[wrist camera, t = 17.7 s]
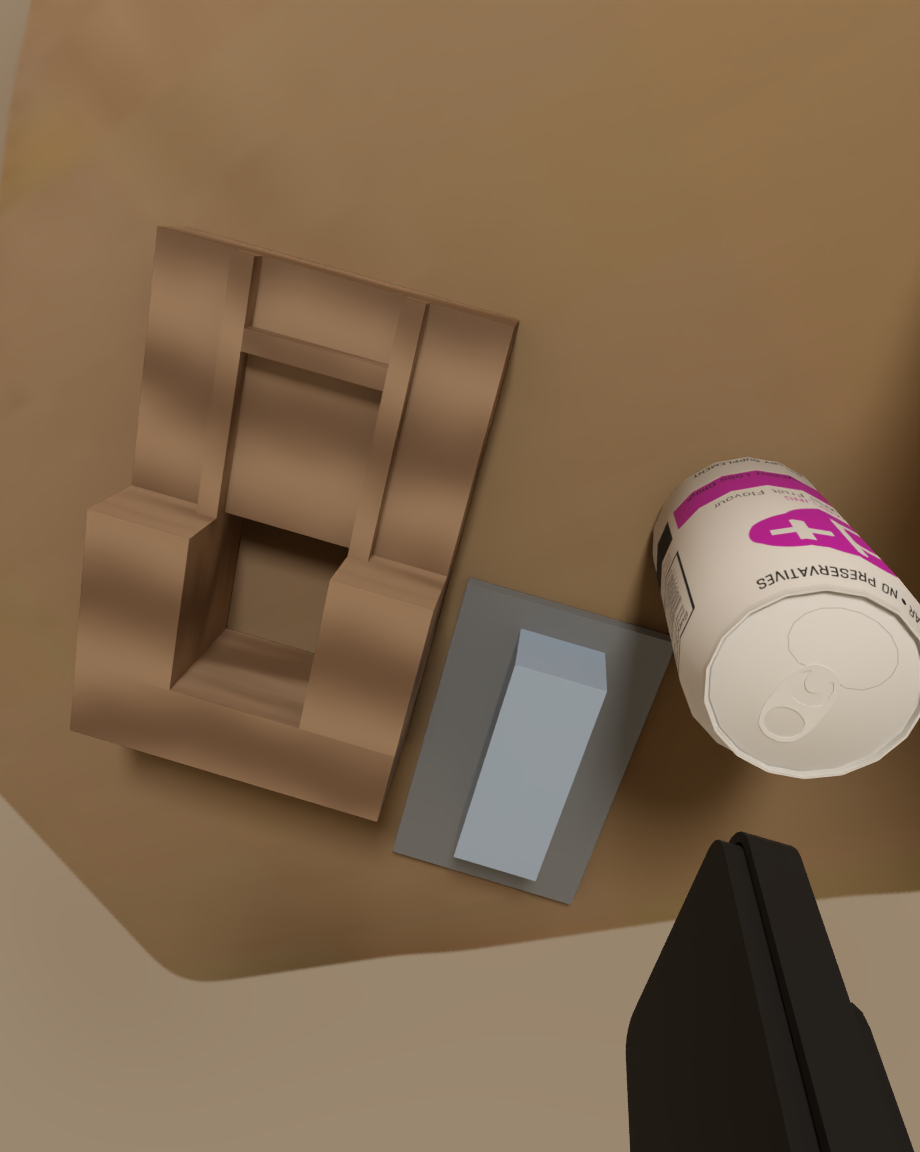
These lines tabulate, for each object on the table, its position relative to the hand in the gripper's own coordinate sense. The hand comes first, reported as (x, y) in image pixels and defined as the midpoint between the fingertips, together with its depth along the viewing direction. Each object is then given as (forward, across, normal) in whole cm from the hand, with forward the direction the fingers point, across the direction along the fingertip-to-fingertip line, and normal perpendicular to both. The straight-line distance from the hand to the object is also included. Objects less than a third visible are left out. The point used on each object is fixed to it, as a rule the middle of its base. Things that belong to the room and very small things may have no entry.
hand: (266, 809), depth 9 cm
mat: (+33, -6, +20) cm, 39 cm away
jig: (+33, +8, +10) cm, 35 cm away
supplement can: (+33, -13, +5) cm, 36 cm away
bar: (+32, -6, +19) cm, 38 cm away
